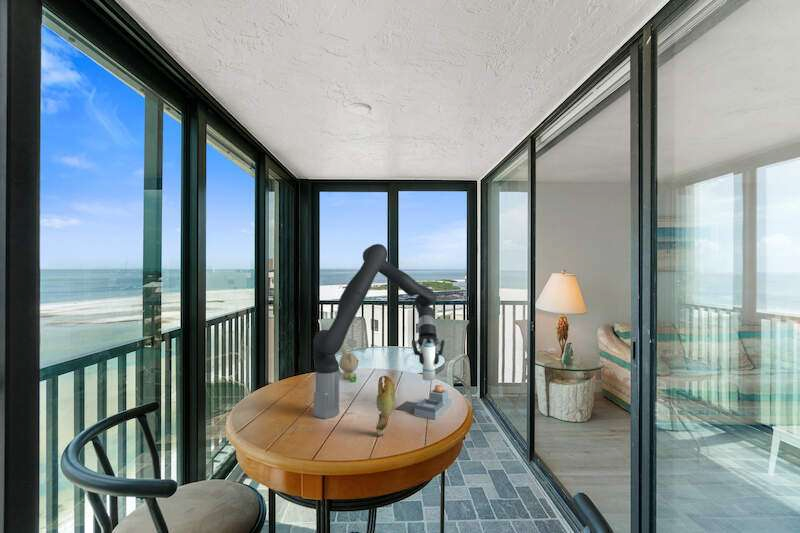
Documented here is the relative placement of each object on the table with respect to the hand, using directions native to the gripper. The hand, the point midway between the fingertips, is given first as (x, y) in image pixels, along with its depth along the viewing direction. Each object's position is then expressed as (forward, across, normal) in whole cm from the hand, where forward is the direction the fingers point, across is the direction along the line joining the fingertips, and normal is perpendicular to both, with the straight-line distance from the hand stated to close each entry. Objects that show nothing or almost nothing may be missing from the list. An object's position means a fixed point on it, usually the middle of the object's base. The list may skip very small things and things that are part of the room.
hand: (429, 363), depth 140 cm
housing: (+11, +2, +18) cm, 21 cm away
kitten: (-21, -39, +50) cm, 67 cm away
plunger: (+3, +5, +18) cm, 18 cm away
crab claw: (+26, -17, +3) cm, 32 cm away
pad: (+8, -7, +21) cm, 23 cm away
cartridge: (+3, 0, +6) cm, 7 cm away
